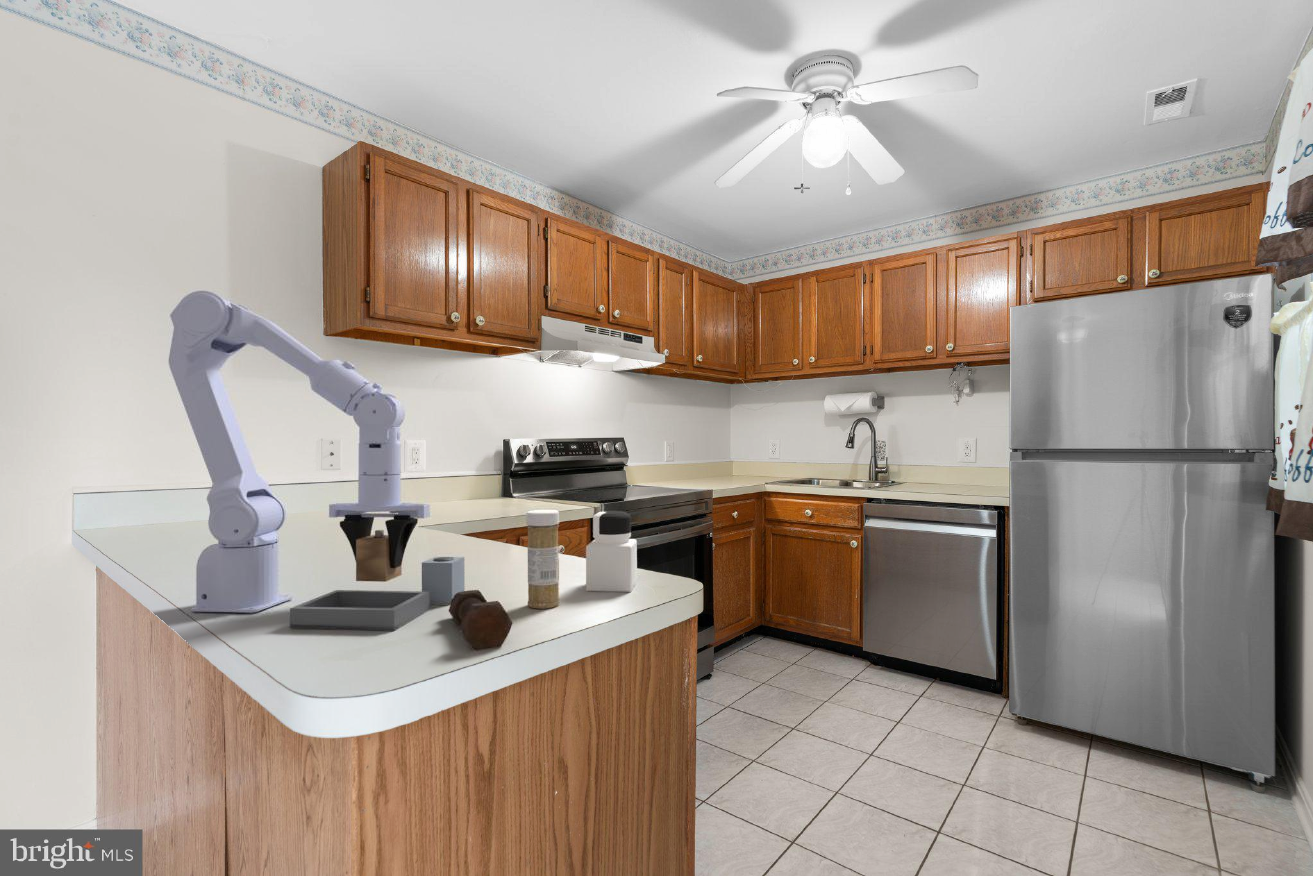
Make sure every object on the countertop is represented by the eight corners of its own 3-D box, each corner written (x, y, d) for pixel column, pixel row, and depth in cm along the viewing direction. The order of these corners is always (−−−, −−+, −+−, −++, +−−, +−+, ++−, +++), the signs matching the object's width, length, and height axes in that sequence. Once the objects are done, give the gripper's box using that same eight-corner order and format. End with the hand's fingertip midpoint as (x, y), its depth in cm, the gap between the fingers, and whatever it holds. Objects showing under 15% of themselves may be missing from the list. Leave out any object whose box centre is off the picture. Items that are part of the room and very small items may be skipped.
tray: (289, 628, 77) (289, 608, 77) (336, 607, 86) (336, 590, 86) (394, 630, 76) (394, 610, 76) (429, 609, 85) (429, 591, 85)
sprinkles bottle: (558, 600, 90) (558, 508, 90) (560, 608, 85) (560, 511, 85) (526, 602, 89) (526, 509, 89) (526, 610, 84) (526, 512, 84)
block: (356, 581, 89) (356, 532, 89) (373, 574, 93) (373, 528, 93) (385, 581, 88) (386, 532, 88) (401, 575, 93) (401, 528, 93)
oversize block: (421, 604, 88) (421, 561, 88) (435, 596, 93) (435, 555, 93) (452, 604, 88) (451, 561, 88) (464, 597, 92) (464, 556, 92)
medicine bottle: (637, 582, 102) (636, 509, 102) (631, 592, 94) (630, 514, 95) (594, 581, 102) (594, 509, 102) (585, 591, 95) (585, 514, 95)
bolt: (468, 629, 82) (495, 660, 69) (434, 615, 80) (454, 644, 67) (490, 589, 84) (519, 611, 71) (456, 574, 82) (480, 594, 69)
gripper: (438, 473, 94) (438, 562, 94) (348, 473, 95) (348, 560, 95) (417, 475, 87) (416, 571, 87) (320, 475, 88) (319, 569, 88)
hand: (379, 566), depth 91 cm, fingers closed on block, 4 cm apart
